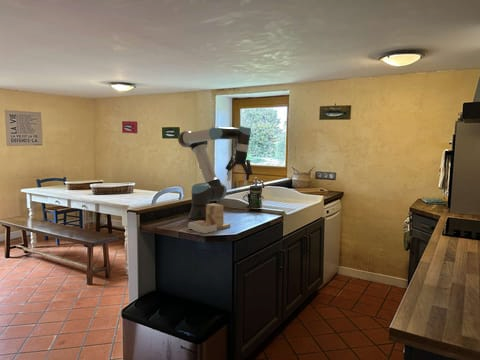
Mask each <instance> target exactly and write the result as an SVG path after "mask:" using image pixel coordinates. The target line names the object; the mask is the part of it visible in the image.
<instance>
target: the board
mask: <svg viewBox="0 0 480 360" xmlns="http://www.w3.org/2000/svg"><path fill="white" fill-rule="evenodd" d="M229 227H230V228H231V223H227V222H223V225H220V226H217V231H221V230H220V229H222V230H226V229H230V228H229ZM225 228H226V229H225Z"/></svg>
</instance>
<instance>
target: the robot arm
mask: <svg viewBox="0 0 480 360" xmlns="http://www.w3.org/2000/svg"><path fill="white" fill-rule="evenodd" d="M251 134H252V128H251V127H248V126H243V125H240V126H239V128H237V127H231V126H230V127H229V126H228V127H223V126H219V127H218V126H212V127H211V128H207V129H206V128H205V129H201V130H196V131H194V130H193V131H187V130H184V131H182V132H180V133H179V134H178V136H177V142H178V144H179V145H180V146H181V147H183V148H190V149H191V152H192V153H194V154H195V156H196V160H197V163H198V165H199V167H200V170H201V173H202V176H203V179H204V182H201V183H200V182H199V183H195V184H192V186H191V209H190V212H189V215H188V218H189V219H190V218H191V219H190V220H193V219H195V220H194V221H206V204H210V202H215V201H220V200H223V199H225V197H226V196H227V195H226V194H227V191H228V190H227V186H226V184H225V183H222V182H221V179H220V178H218V177H217V174H216V172H215V169H214V167H213V164H212V161H211V159H210V155H209V153H208V150H207V148H208V144H209V142H208V141H216V140H234V141H236V148H235V149H236V150H235V156H234V155H231V157H230V160H229V161H228V163H227V165H226V166H225V170H227V173H226V175H227V178H226V181H229V182H230V181H232V180H231V179H232V173H233V172H232V170H233V169H234V168H235V167H236V165H237V166H238V165H239V166H241V167H242V168H243V171H244V172H245V175H244V181H243V186H248V181H249V180H250V176H253V171H252V166H251V159H247V158H248V151H249V144H250V138H251Z"/></svg>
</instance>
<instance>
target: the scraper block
mask: <svg viewBox="0 0 480 360" xmlns="http://www.w3.org/2000/svg"><path fill="white" fill-rule="evenodd" d="M205 221H206V222H211V224H212V225H215V224H217V226H220V225H223V223H224V204H219V203H213V202H212V203H209V204H206V220H205Z"/></svg>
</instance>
